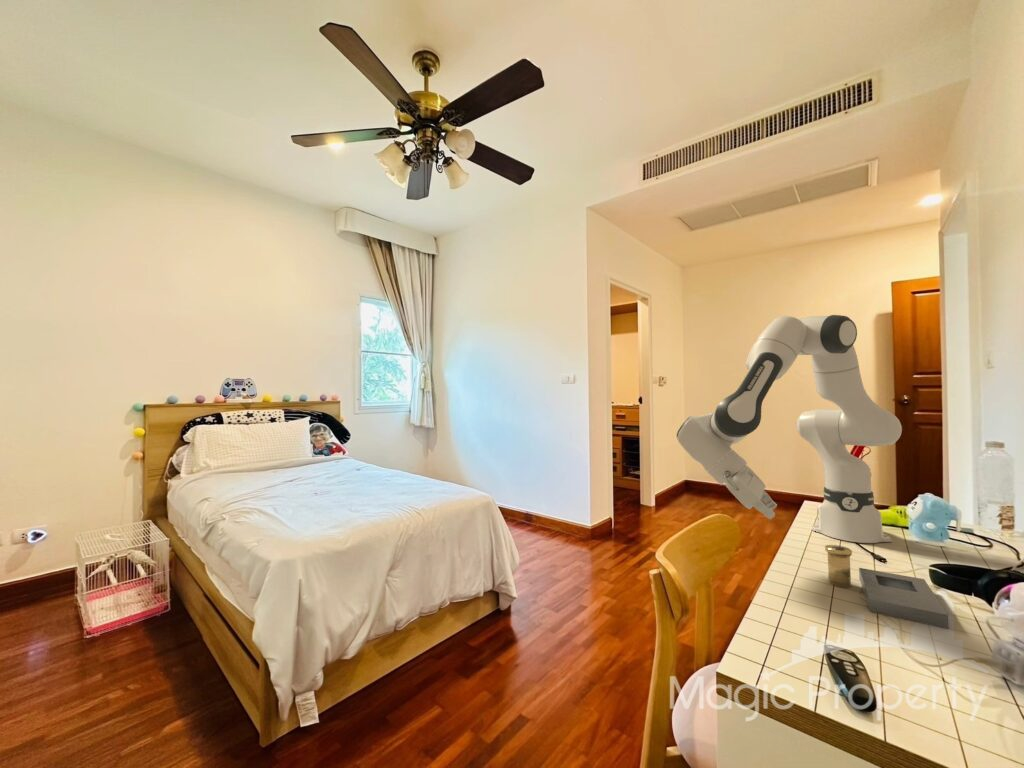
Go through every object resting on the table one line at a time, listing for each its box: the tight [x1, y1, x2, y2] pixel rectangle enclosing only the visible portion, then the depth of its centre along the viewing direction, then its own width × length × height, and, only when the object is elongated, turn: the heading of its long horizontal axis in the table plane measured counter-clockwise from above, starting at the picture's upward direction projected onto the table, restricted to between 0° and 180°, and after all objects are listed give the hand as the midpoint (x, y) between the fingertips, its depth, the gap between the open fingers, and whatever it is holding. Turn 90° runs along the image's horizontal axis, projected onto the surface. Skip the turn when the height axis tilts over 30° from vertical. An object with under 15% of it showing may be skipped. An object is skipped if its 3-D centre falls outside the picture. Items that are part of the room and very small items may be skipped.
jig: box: [858, 567, 950, 630], centre depth 86 cm, size 18×11×2 cm, turn 145°
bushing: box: [824, 544, 853, 589], centre depth 94 cm, size 5×5×8 cm
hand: (774, 512), depth 101 cm, fingers open, 8 cm apart
